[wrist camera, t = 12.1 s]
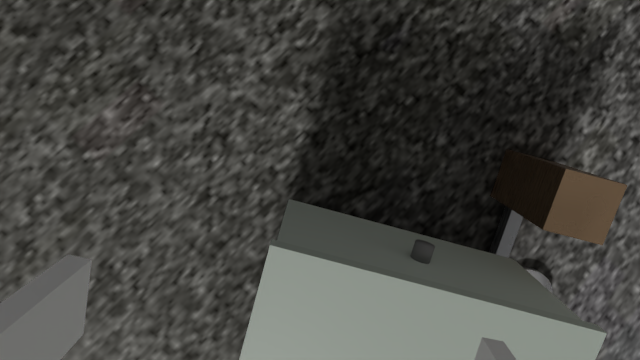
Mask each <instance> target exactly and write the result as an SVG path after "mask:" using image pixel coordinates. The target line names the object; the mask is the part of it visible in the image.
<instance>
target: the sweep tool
mask: <svg viewBox="0 0 640 360" xmlns="http://www.w3.org/2000/svg"><path fill="white" fill-rule="evenodd" d="M626 187H627V185H625V184H622V183H619V182H616V181H613V180H610V179H606V178H603V177H600V176H597V175H594V174H591V173H588V172H585V171H581V170H578V169H575V168H572V167H569V166H566V165H563V164H559V163H556V162H553V161H549V160H546V159H542V158H538V157H535V156H531V155H527V154H523V153H520V152H516V151H512V150H509V149H507V150H506V153H505V155H504V158H503V161H502V164H501V167H500V170H499V173H498V175H497V178H496V181H495V184H494V187H493V190H492V192H491V195H490V196H491V197H493V198H494V199H496V200H497V201H499V202H501V203H502V204H504V205H505V208H504V211H503V213H502V216H501V219H500V222H499V225H498V227H497V230H496V233H495V236H494V238H493V241H492V244H491V247H490V250H489V252H488V253H492V254H496V255H500V256H503V257H507V258H508V257H509V254H510V252H511V249H512V246H513V244H514V241H515V238H516V236H517V233H518V230H519V227H520V225H521V222H522V219H523V217H524V218H526V219H527V220H529V221H530V222H532V223H533V224H535V225H536V226H538V227H540V228H541V229H543V230H546V231H550V232H554V233H558V234H562V235H566V236H569V237H573V238H577V239H581V240H585V241H589V242H592V243H596V244H600V245H603V243H604V241H605V238H606V236H607V233H608V231H609V228H610V226H611V224H612V221H613V219H614V216H615V214H616V211H617V209H618V207H619V204H620V202H621V199H622V197H623V195H624V192H625V190H626Z"/></svg>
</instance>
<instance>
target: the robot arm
mask: <svg viewBox="0 0 640 360" xmlns="http://www.w3.org/2000/svg"><path fill="white" fill-rule="evenodd" d="M91 262H92V259H88V258H83V257H78V256H73V255H66V256H65V257H64V258H62V259H61V260H60V261H58V262H57V263H55V264H54V265H53V266H51V267H50V268H48V269H47V270H46V271H44V272H43V273H41V274H40V275H39V276H37V277H36V278H34V279H33V280H32V281H30V282H29V283H27V284H26V285H25V286H23V287H22V288H20V289H19V290H18V291H16V292H15V293H14V294H12V295H11V296H9V297H8V298H7V299H5V300H4V301H2V302H1V303H0V360H60V359H61V358H62V357H63V356H64V355H65V354H66V353H67V352H68V351H69V349H70V348H71V347H72V346H73V345H74V344H75V343H76V342H77V341H78V340H79V338H80V337H81V336H82V335H83V332H84V323H85V314H86V306H87V297H88V288H89V280H90V271H91ZM475 360H516V358H515V357H514V355H513V354H512V353H511V351H510V350H509V348H508V347H507V345H506V344H505V343H504V341H499V340H494V339H489V338H484V337H482V339H481V342H480V345H479V348H478V351H477V354H476V357H475Z"/></svg>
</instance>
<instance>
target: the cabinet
mask: <svg viewBox="0 0 640 360" xmlns="http://www.w3.org/2000/svg"><path fill="white" fill-rule="evenodd" d="M606 334H607V333H606V332H605V331H604V330H602V329H601V328H600V327H599V326H598V325H596V324H593V323H589V322H585V321H582V320H581V319H580V318H579V317H578V316H577V315H576V314H574V313H573V312H572V311H571V310H570V309H569V308H568V307H567V306H566V305H564V304H563V303H562V302H561V301H560V300H559V299H558V298H557V297H555V296H554V295H553V294H552V293H551V292H550V291H549V290H548V289H547V288H545V287H544V286H543V285H542V284H541V283H540V282H539V281H538V280H536V279H535V278H534V277H533V276H532V275H531V274H530V273H529V272H528V271H526V270H525V269H524V268H523V267H522V266H521V265H520V264H519V263H517V262H516V261H515V260H514V259H511V258H507V257H503V256H500V255H496V254H492V253H488V252H485V251H481V250H477V249H473V248H470V247H466V246H462V245H459V244H455V243H451V242H447V241H444V240H440V239H436V238H432V237H429V236H425V235H421V234H418V233H414V232H410V231H406V230H403V229H399V228H395V227H391V226H388V225H384V224H380V223H377V222H373V221H369V220H365V219H362V218H358V217H354V216H351V215H347V214H343V213H339V212H336V211H332V210H328V209H324V208H321V207H317V206H313V205H310V204H306V203H302V202H298V201H295V200H291V199H289V200H288V204H287V207H286V211H285V214H284V218H283V221H282V224H281V228H280V231H279V235H278V238H277V240H273V239H272V241H271V244H270V247H269V251H268V255H267V258H266V262H265V266H264V269H263V273H262V277H261V281H260V284H259V288H258V292H257V296H256V299H255V303H254V307H253V311H252V314H251V318H250V322H249V325H248V329H247V333H246V337H245V340H244V344H243V348H242V352H241V355H240V359H239V360H475V357H476V354H477V351H478V348H479V345H480V342H481V339H482V337H484V338H489V339H494V340H499V341H504V343H505V344H506V345H507V347H508V348H509V350H510V351H511V353H512V354H513V355H514V357H515V358H516V360H595V359H596V357H597V355H598V352H599V350H600V348H601V346H602V343H603V341H604V339H605V337H606Z"/></svg>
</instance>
